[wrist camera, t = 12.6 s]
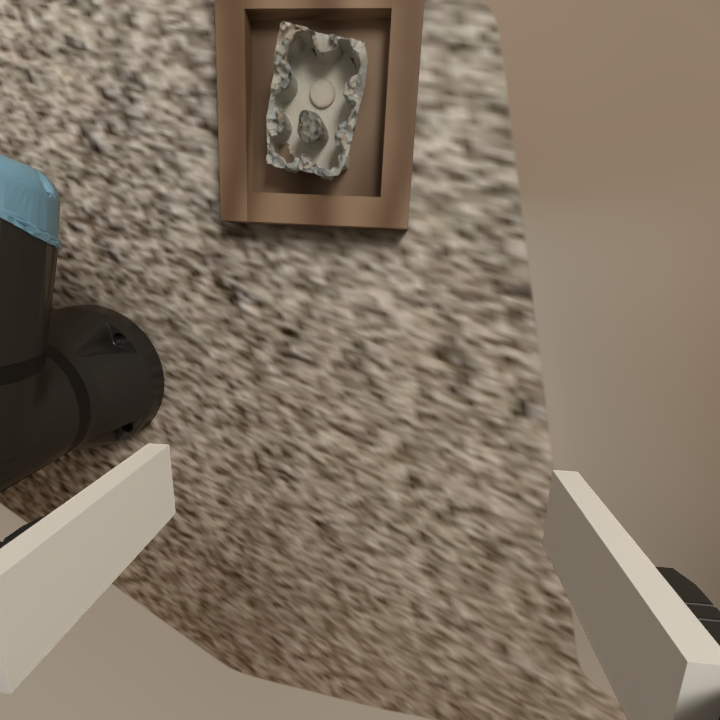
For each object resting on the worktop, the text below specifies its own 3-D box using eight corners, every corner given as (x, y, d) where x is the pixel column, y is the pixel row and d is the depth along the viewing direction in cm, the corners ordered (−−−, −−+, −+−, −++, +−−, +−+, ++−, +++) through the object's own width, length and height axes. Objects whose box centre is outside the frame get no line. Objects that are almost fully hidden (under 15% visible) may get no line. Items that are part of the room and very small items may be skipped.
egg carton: (293, 37, 35) (279, 9, 31) (377, 59, 35) (374, 33, 31) (267, 168, 38) (251, 157, 34) (346, 190, 38) (339, 181, 34)
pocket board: (231, 222, 40) (220, 220, 38) (226, -9, 36) (213, -28, 33) (407, 230, 39) (407, 228, 36) (425, -10, 34) (426, -31, 32)
